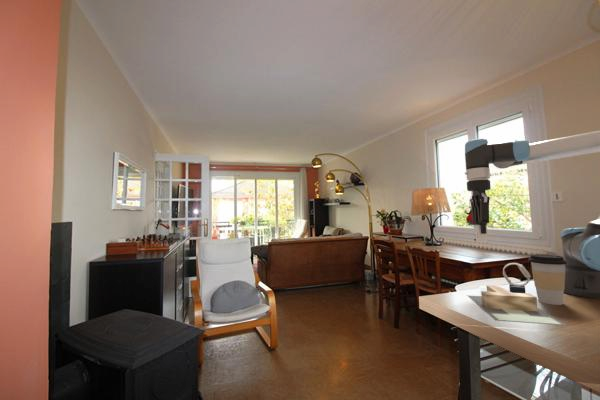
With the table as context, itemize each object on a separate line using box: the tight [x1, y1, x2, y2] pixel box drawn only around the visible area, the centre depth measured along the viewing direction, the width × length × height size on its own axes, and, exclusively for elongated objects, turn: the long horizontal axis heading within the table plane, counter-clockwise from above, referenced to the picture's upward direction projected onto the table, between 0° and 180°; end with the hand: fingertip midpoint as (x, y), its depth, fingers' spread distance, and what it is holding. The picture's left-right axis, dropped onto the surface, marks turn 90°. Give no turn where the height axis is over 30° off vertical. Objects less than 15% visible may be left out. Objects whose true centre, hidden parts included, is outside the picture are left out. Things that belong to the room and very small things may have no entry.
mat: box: [467, 295, 569, 326], centre depth 83 cm, size 16×24×1 cm, turn 164°
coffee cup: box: [527, 253, 567, 306], centre depth 89 cm, size 9×9×15 cm
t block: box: [480, 284, 539, 311], centre depth 88 cm, size 13×13×4 cm
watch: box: [502, 262, 532, 293], centre depth 98 cm, size 6×8×11 cm
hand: (481, 242), depth 103 cm, fingers open, 2 cm apart
